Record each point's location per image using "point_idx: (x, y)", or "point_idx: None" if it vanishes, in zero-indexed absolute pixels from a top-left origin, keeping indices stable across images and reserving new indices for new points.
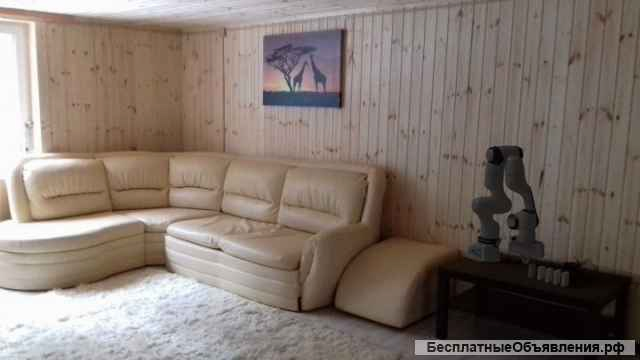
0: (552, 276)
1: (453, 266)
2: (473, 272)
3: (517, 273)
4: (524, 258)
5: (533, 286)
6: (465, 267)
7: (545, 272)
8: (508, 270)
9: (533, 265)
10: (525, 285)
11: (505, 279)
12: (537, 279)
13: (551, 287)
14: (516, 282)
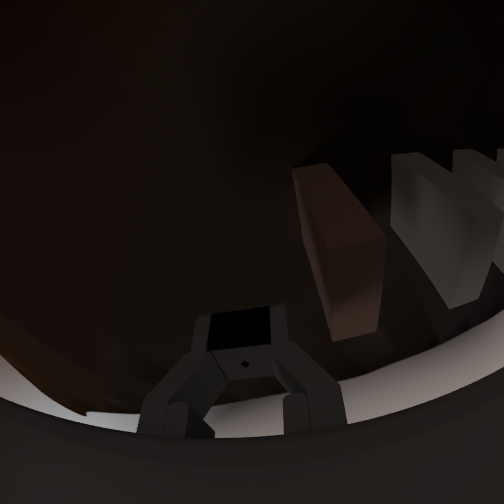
0: (498, 163)
1: (42, 386)
2: (116, 397)
3: (169, 241)
4: (202, 378)
5: (424, 334)
6: (46, 372)
7: (492, 260)
8: (77, 247)
9: (377, 293)
10: (390, 355)
11: (262, 378)
12: (394, 225)
13: (493, 269)
14: (333, 365)
